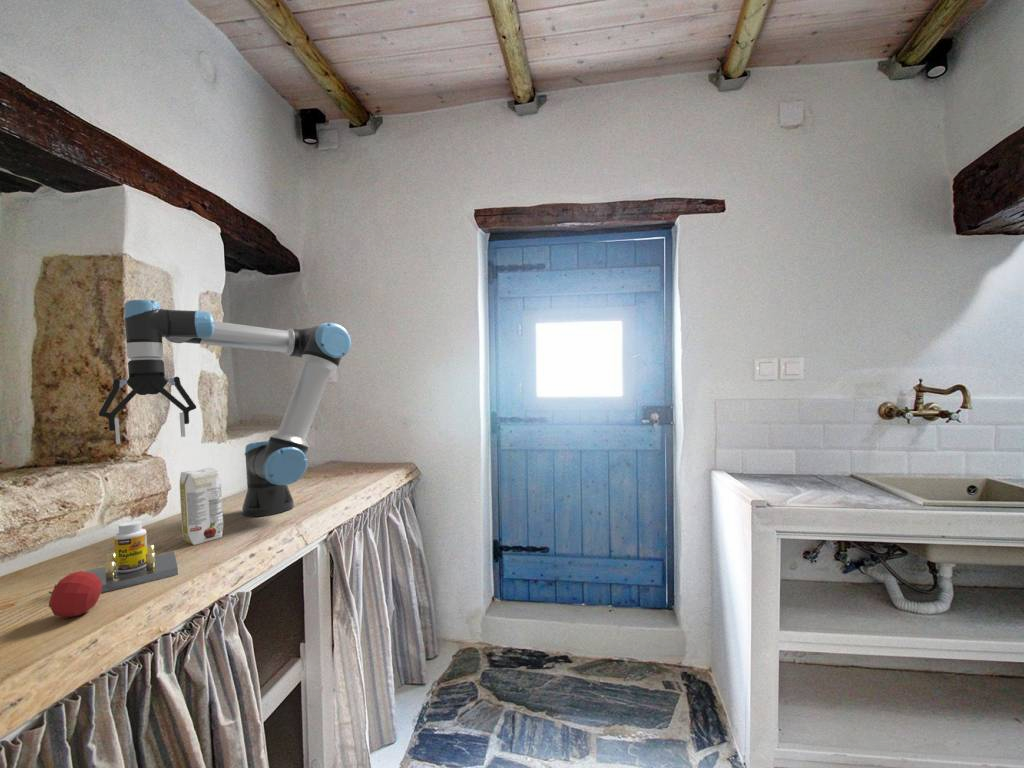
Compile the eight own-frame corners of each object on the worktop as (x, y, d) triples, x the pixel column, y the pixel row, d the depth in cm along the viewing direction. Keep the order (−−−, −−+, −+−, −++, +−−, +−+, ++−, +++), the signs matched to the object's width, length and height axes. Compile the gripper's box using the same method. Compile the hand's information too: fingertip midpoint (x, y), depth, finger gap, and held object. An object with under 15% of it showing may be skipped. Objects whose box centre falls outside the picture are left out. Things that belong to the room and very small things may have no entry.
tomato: (104, 563, 88) (55, 562, 86) (81, 603, 82) (27, 603, 80) (113, 585, 93) (66, 585, 91) (91, 625, 87) (40, 626, 85)
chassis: (174, 557, 115) (173, 537, 115) (178, 574, 104) (176, 551, 104) (86, 577, 105) (85, 555, 105) (80, 598, 94) (78, 573, 94)
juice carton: (226, 537, 129) (222, 468, 129) (190, 547, 122) (186, 474, 122) (215, 532, 133) (211, 466, 133) (180, 542, 126) (176, 472, 126)
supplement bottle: (114, 576, 100) (111, 528, 100) (118, 568, 105) (115, 522, 105) (147, 569, 103) (144, 523, 103) (149, 561, 108) (147, 517, 108)
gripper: (200, 359, 134) (205, 433, 134) (82, 361, 118) (89, 445, 118) (204, 357, 128) (209, 434, 129) (80, 359, 112) (87, 447, 113)
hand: (151, 440), depth 124 cm, fingers open, 13 cm apart
